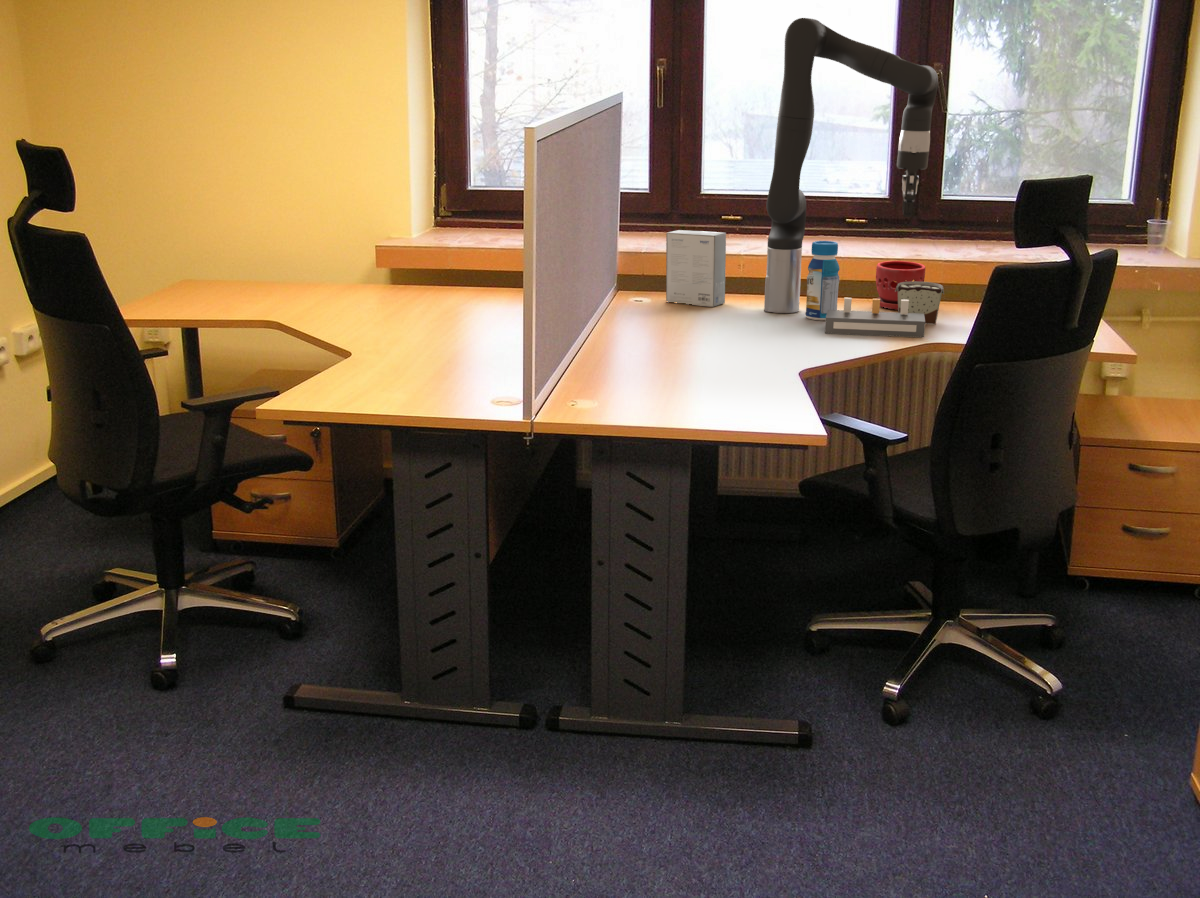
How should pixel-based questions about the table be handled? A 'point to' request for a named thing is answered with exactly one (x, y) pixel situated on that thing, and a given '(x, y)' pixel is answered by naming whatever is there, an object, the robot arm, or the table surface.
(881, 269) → the plant pot
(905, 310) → the switch right
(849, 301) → the switch left
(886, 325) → the breaker block
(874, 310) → the switch mid
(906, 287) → the food container
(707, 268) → the hard drive box
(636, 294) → the table surface
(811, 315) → the beverage bottle
